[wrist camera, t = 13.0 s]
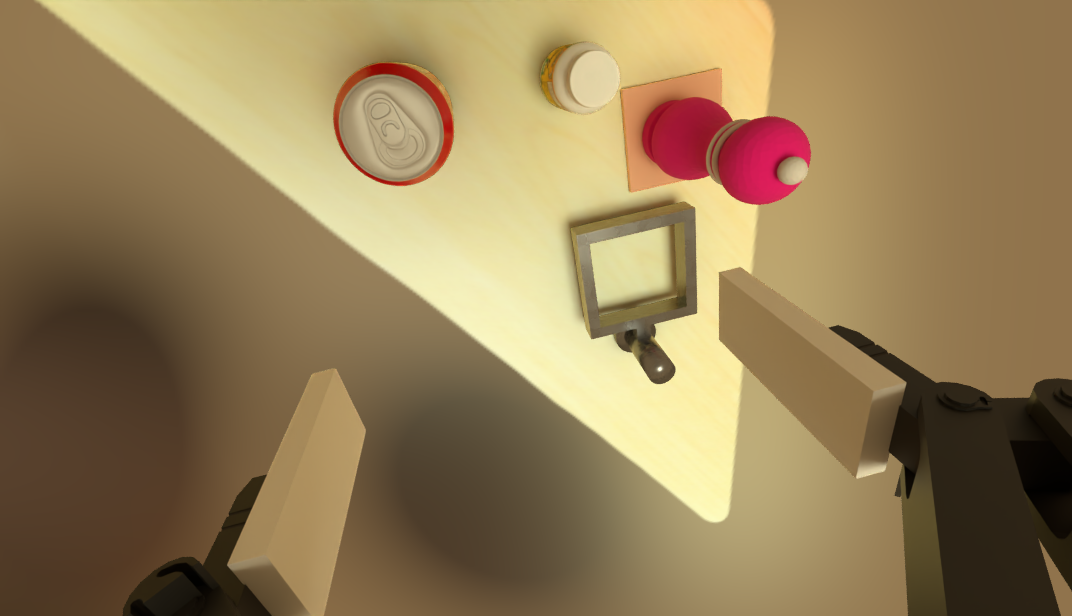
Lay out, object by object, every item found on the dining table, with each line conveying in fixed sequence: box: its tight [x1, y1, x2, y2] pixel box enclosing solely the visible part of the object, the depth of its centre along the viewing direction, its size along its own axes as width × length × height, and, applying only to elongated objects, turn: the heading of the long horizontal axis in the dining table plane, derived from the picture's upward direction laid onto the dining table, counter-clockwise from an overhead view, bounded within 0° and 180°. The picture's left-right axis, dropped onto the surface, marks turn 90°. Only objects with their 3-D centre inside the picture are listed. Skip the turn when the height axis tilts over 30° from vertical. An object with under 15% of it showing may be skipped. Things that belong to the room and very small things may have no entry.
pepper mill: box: [642, 97, 811, 205], centre depth 39 cm, size 7×7×20 cm
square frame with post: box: [571, 202, 697, 384], centre depth 51 cm, size 18×12×9 cm
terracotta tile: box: [620, 69, 722, 192], centre depth 48 cm, size 10×10×1 cm
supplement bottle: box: [540, 42, 620, 115], centre depth 40 cm, size 5×5×10 cm
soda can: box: [333, 62, 454, 186], centre depth 37 cm, size 8×8×15 cm
